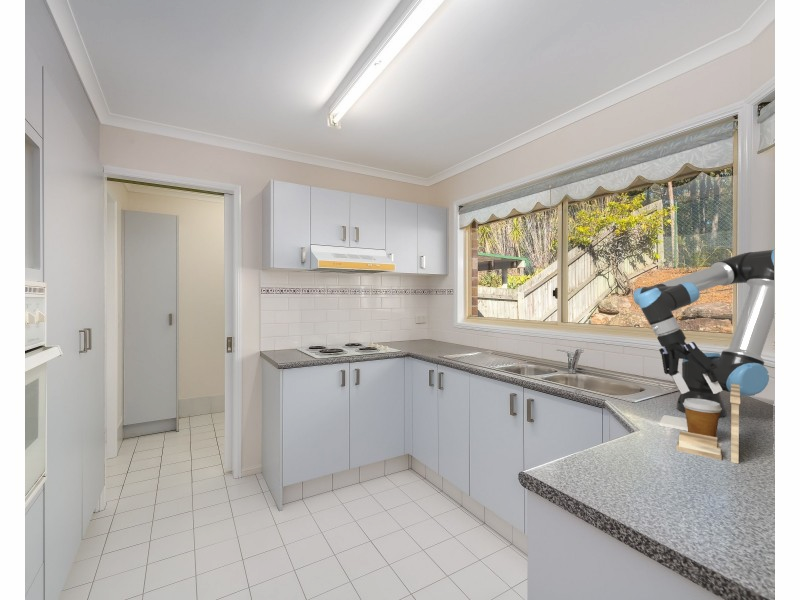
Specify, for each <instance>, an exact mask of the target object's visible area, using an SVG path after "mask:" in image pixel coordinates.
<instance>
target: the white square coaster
mask: <svg viewBox="0 0 800 600" xmlns="http://www.w3.org/2000/svg"><path fill="white" fill-rule="evenodd" d="M658 423H659V424H658V426H659V427H666V428H671V429H676V430H680V431H685V432H688V427H687V420H686V417H684V418H683V417H680V416H679V417H678V416H673V415H665V414H664V415H663V416H662V417H661V419H660V421H659V422H658Z"/></svg>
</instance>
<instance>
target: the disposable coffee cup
mask: <svg viewBox="0 0 800 600" xmlns="http://www.w3.org/2000/svg"><path fill="white" fill-rule="evenodd" d="M683 405H684V407H685V412H684V413H685V419H686V420H687V427H688V431H687V432H690V433H695V434H700V435H706V436H711V437H717V431H718V426H719V419H720V417H719V415H720V412H721V410H722V408H721V407H720V404H719V403H717V402H714V401H710V400H705V399H696V398H688V399H685V401H684V403H683Z"/></svg>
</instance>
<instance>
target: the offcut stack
mask: <svg viewBox="0 0 800 600" xmlns="http://www.w3.org/2000/svg"><path fill="white" fill-rule="evenodd" d="M675 447H676V450H675V451H677V452H680V453H685V454H690V455H694V454H695V456H698V457H699V456H701V457H704V458H709V459H713V460H716V461H717V460H719V461H722V458H723V449H722V444H721V443H718V437H717V436H716V437H711V436H706V435H700V434H695V433H690V432H688V431H685V430H680V432H679V436H678V441H677V444H676V446H675Z"/></svg>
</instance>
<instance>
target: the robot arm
mask: <svg viewBox="0 0 800 600" xmlns="http://www.w3.org/2000/svg"><path fill="white" fill-rule="evenodd" d="M774 250H775V249H770V250H769V249H768V250H759V251H750V252H744V253H740V254H737V255H734V256H732V257H729V258H726V259H722V260H720V261H718V262H715V263H712V265H711V266H710V267H707V268H704V269H701V270H698V271H694V272H691V273H689V274H686V275H685V274H684V275H682V276H679V277H675V278H674V279H673V278H672V279H669V280H667V281H662V282H661V283H660V282H659V283H658V284H657V283H656V284H654V285H651V286H643V287H637V289H635V290H634V292H633V295H632V298H633V301H634V302H635V305H637V306H639V308H640V310H641V311H642V313H643V316H644V317H645V318H646V320H647V322H648V324H649V325H650V327H651V329H652V331H653V332H654V335H655V336H657V340H658V342H659V345H660V346H661V347H662V348H660V349H658V350H659V352H660V356H661V360H662V367H663V372H664V374H665V375H669V376H671V378H672V380H673V381H674V383H675V384H676V386H677V388H678V390H679V391H680V394H679V397H678V399H677V400H676V401H677V402H676V409H677V410H679V411H681V412H683V413H685V407H684V405H683V403H684V401H685V399H688V398H696V399H705V400H710V401H714V402H717V403H719V404H720V407H721V408H722V410H721V412H720V415H719V418H722V417H726V416H727V409H726V406H725V403H724V401H723V398H722V396H721V392H728V393H731V383H732V384H739V385H740V396H745V397H748V396H749V397H751V396H755V395H757V394H760V393H762V392H763V391H764V390H765V389H766V387H767V386H768V385H769V384H768V383H769V381H770V375H769V371H768V369H767V368H766V367H765V366H764V365H765V360H764V359H763V358H762V357H761V356H762V353H763V350H764V346H765V344H766V341H767V339H768V335H769V332H770V330H771V327H772V324H773V321H774V319H775V316H774ZM733 284H747V285H748V286H749V291H748V293H747V296H746V300H745V303H744V306H743V307H742V311H741V314H740V317H739V319H738V321H737V325H736V328H735V331H734V333H733V337H732V339H731V342H730V345H729V347H728V348H726V349H723V350H722V351H721V354H720V353H719V352H703V351H702V350H701V349H700V348H699V346H697V344H696V343H695V342H694V341H691V342H689V343H686V339H687V337H686V336H685V333H684V332H683V330H682V329H681V327H680V326H681V325H680V324H679V323H678V321H677V319H676V317H675V315H674V314H673V312H674V311H676V310H679V309H681V308H684V307H686V306H690V305H692V304H693V303H696V302H697V301H699V299H700V296H701V294H700V293H701V292H702V291H706V290H708V289H711V288H714V287H718V286H723V287H725V286H730V285H733ZM680 360H682V362H681V370H682V371H681V372H680V371H679V370H678V369H679V361H680ZM681 373H682V374H681Z"/></svg>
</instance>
